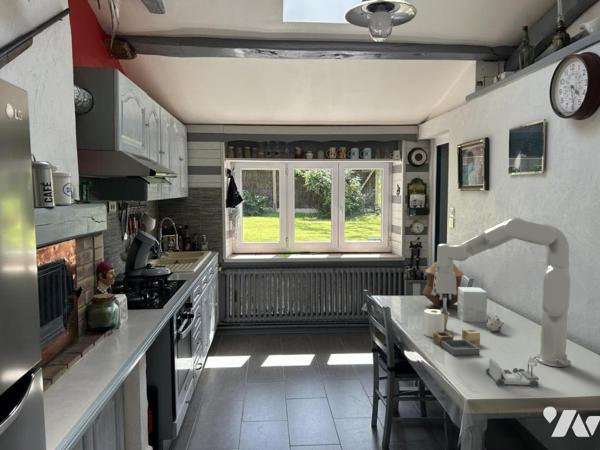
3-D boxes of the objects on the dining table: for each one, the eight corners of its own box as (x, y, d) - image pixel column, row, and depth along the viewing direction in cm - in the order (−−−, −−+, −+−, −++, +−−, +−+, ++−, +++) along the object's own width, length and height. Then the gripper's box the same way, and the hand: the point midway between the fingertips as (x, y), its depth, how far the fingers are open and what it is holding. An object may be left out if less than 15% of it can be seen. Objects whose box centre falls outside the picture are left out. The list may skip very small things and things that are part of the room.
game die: (497, 339, 232) (506, 327, 225) (481, 332, 233) (490, 321, 227) (497, 327, 238) (506, 315, 232) (482, 320, 240) (490, 309, 233)
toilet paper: (428, 330, 235) (428, 307, 234) (447, 334, 228) (447, 311, 227) (420, 334, 227) (420, 311, 226) (439, 338, 220) (440, 315, 220)
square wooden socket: (453, 345, 211) (453, 336, 210) (439, 346, 209) (439, 337, 209) (446, 340, 217) (446, 331, 217) (432, 341, 216) (433, 332, 216)
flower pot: (429, 329, 236) (429, 313, 235) (432, 324, 244) (433, 309, 243) (447, 332, 231) (448, 316, 231) (450, 327, 240) (450, 311, 239)
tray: (479, 354, 198) (479, 348, 198) (453, 356, 196) (454, 349, 196) (465, 345, 211) (465, 339, 210) (440, 346, 209) (441, 340, 208)
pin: (448, 314, 211) (448, 293, 210) (442, 314, 211) (442, 293, 210) (445, 312, 214) (445, 292, 213) (439, 312, 214) (439, 292, 213)
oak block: (479, 344, 212) (480, 332, 212) (468, 345, 211) (468, 333, 211) (473, 340, 218) (473, 328, 218) (461, 341, 217) (462, 329, 217)
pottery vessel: (414, 303, 291) (415, 259, 289) (443, 300, 302) (444, 256, 300) (441, 313, 268) (443, 264, 266) (473, 309, 278) (474, 262, 276)
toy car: (532, 352, 176) (546, 363, 164) (531, 376, 176) (545, 388, 165) (486, 351, 177) (497, 361, 165) (485, 374, 178) (496, 387, 166)
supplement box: (479, 316, 262) (480, 287, 261) (486, 322, 249) (487, 292, 248) (456, 315, 264) (457, 286, 263) (462, 321, 251) (463, 291, 250)
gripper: (432, 271, 206) (431, 309, 207) (464, 270, 208) (463, 308, 210) (425, 268, 213) (424, 305, 215) (456, 267, 216) (455, 304, 217)
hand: (443, 306), depth 212 cm, fingers closed on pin, 2 cm apart
